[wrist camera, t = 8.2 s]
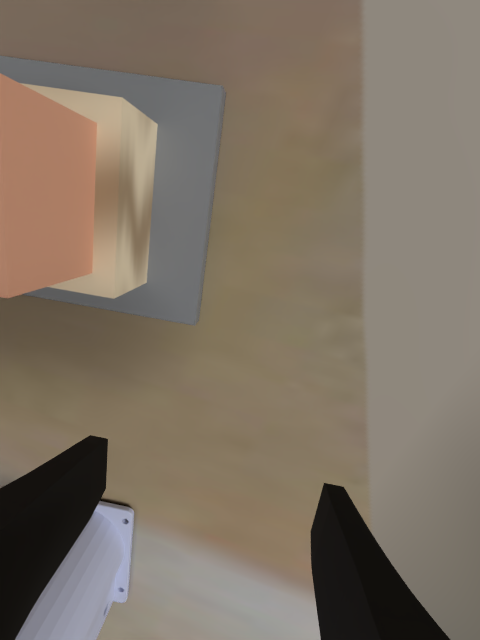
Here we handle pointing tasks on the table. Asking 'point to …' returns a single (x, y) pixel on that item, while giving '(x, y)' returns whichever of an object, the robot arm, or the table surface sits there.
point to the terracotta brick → (44, 191)
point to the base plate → (155, 181)
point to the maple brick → (115, 191)
